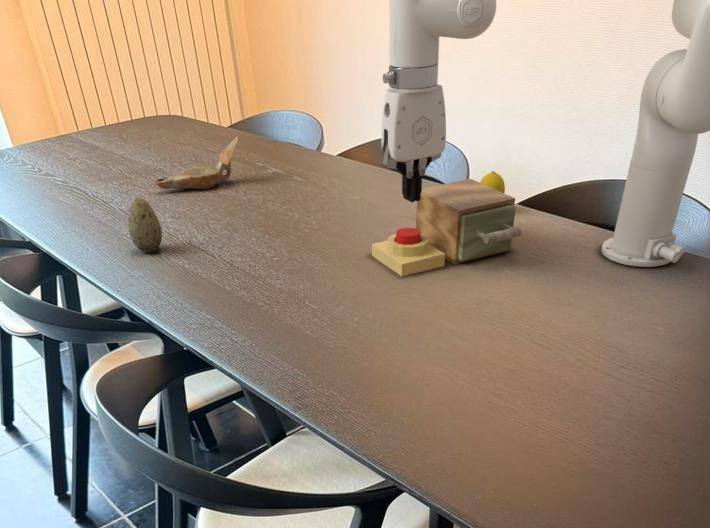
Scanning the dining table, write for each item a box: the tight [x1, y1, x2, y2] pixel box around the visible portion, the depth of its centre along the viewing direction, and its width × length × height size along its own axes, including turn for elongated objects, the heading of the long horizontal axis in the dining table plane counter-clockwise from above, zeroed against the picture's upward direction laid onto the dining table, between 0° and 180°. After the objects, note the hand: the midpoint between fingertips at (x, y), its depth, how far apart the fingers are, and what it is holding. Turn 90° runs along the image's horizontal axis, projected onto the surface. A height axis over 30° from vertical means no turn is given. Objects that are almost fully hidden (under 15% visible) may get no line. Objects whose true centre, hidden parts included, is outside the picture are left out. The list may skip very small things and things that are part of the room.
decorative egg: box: [128, 197, 163, 253], centre depth 128 cm, size 6×6×10 cm
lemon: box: [479, 170, 506, 194], centre depth 140 cm, size 6×6×8 cm
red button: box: [395, 227, 421, 245], centre depth 121 cm, size 4×4×2 cm
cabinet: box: [415, 178, 516, 265], centre depth 125 cm, size 14×12×10 cm
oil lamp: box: [154, 135, 239, 190], centre depth 158 cm, size 9×21×10 cm, turn 114°
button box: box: [371, 233, 446, 277], centre depth 122 cm, size 11×9×4 cm
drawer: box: [458, 204, 522, 261], centre depth 122 cm, size 17×11×8 cm, turn 27°
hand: (411, 199), depth 116 cm, fingers closed
